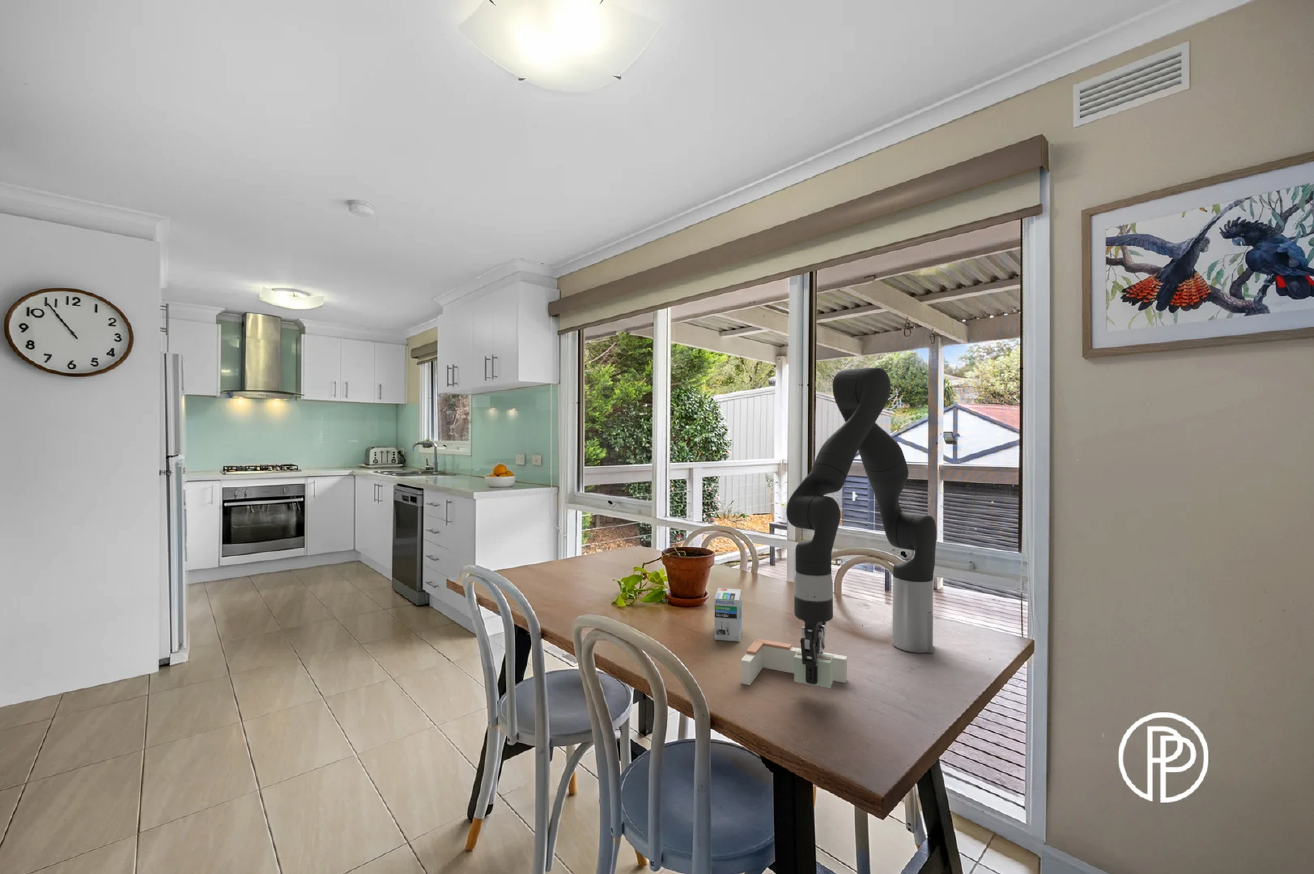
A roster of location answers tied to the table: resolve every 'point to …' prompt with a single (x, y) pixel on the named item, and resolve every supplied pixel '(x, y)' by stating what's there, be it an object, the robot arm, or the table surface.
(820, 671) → the block
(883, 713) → the table surface
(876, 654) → the table surface
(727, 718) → the table surface
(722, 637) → the light bulb box
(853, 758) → the table surface
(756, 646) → the corner wall
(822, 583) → the robot arm
